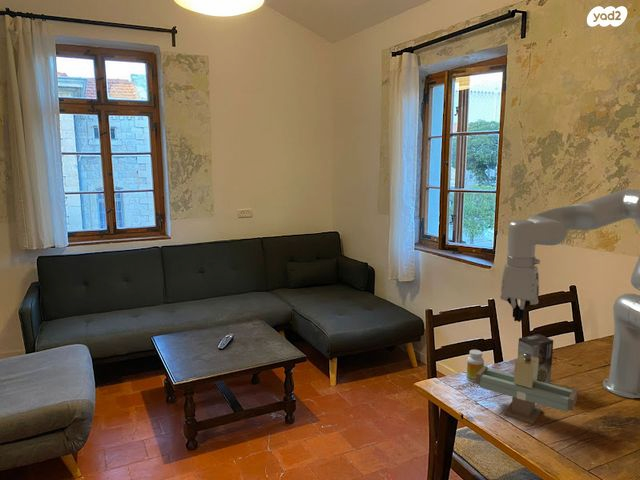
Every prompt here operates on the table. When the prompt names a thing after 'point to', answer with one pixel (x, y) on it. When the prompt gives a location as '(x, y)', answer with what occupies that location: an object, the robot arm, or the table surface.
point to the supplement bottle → (474, 364)
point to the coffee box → (538, 354)
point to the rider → (526, 370)
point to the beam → (526, 394)
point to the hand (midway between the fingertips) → (518, 319)
